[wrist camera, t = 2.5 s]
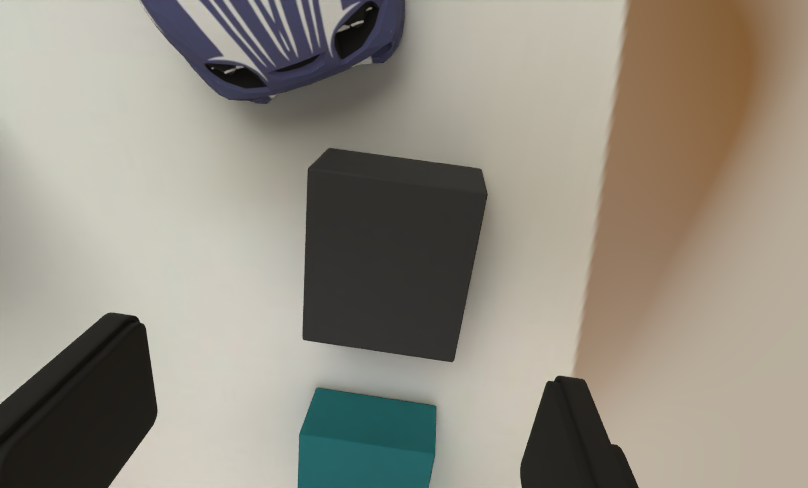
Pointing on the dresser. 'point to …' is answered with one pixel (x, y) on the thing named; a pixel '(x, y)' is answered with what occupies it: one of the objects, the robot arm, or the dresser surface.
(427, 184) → the charcoal pad
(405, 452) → the teal pad
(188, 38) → the toy car
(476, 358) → the dresser surface
